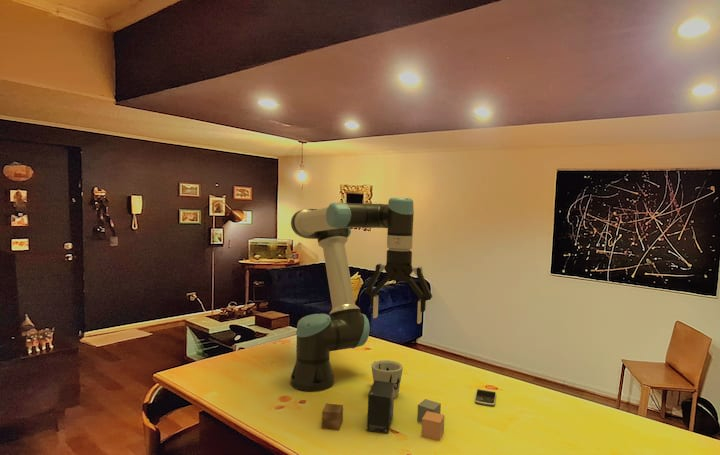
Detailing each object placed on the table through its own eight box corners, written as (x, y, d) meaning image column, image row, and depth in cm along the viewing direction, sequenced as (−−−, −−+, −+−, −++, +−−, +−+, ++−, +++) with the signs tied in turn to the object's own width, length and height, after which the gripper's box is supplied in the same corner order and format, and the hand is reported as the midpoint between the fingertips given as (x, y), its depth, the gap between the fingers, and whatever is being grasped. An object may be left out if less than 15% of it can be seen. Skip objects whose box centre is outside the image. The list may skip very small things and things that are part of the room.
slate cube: (417, 421, 125) (417, 404, 125) (424, 415, 129) (425, 398, 129) (433, 426, 122) (433, 409, 122) (440, 420, 126) (440, 403, 126)
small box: (389, 434, 117) (390, 396, 117) (366, 431, 119) (367, 394, 118) (394, 416, 128) (395, 381, 127) (372, 413, 129) (373, 379, 128)
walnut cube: (321, 428, 120) (322, 411, 119) (325, 420, 124) (326, 403, 124) (339, 430, 119) (339, 413, 119) (342, 422, 124) (343, 405, 123)
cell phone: (474, 405, 137) (474, 401, 137) (477, 392, 148) (477, 388, 147) (494, 408, 135) (494, 404, 135) (496, 395, 145) (496, 391, 145)
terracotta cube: (421, 436, 117) (422, 418, 116) (426, 428, 121) (426, 411, 121) (439, 441, 115) (440, 422, 114) (443, 432, 119) (444, 414, 119)
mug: (380, 404, 135) (381, 373, 135) (358, 386, 148) (359, 358, 148) (408, 398, 140) (409, 368, 140) (384, 381, 153) (385, 354, 153)
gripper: (355, 248, 128) (353, 318, 129) (439, 253, 120) (436, 328, 121) (363, 246, 135) (361, 312, 136) (443, 251, 127) (440, 321, 128)
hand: (396, 319), depth 129 cm, fingers open, 13 cm apart
